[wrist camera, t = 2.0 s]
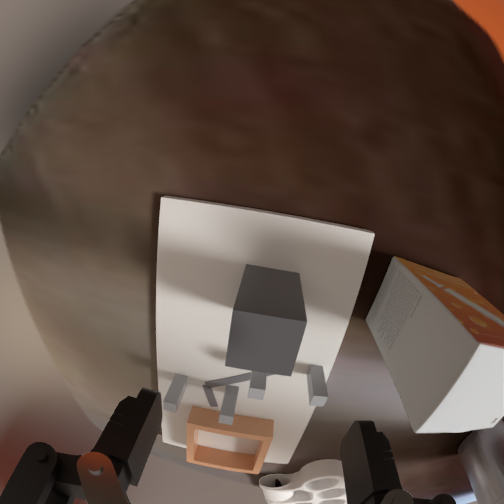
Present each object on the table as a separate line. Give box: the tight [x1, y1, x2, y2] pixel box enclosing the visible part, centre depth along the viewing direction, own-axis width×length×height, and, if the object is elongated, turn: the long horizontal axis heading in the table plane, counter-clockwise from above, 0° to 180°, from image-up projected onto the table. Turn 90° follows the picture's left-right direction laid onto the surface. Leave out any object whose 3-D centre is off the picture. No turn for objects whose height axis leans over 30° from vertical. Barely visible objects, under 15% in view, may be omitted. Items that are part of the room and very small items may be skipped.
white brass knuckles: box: [259, 459, 347, 504], centre depth 33 cm, size 3×18×15 cm
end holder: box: [187, 406, 274, 474], centre depth 28 cm, size 9×9×2 cm
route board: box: [156, 196, 375, 464], centre depth 24 cm, size 16×30×5 cm, turn 171°
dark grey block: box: [225, 264, 307, 376], centre depth 19 cm, size 4×4×7 cm
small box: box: [366, 256, 504, 433], centre depth 17 cm, size 8×6×13 cm
